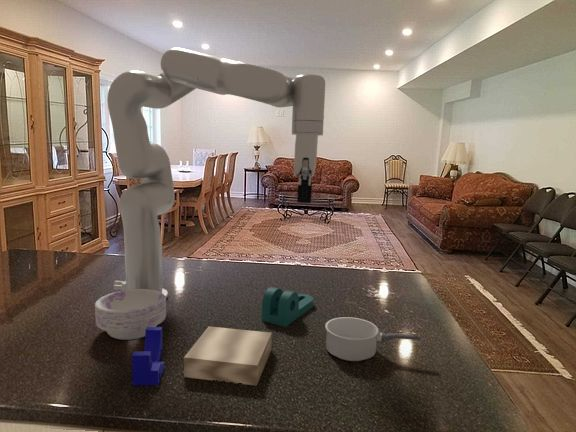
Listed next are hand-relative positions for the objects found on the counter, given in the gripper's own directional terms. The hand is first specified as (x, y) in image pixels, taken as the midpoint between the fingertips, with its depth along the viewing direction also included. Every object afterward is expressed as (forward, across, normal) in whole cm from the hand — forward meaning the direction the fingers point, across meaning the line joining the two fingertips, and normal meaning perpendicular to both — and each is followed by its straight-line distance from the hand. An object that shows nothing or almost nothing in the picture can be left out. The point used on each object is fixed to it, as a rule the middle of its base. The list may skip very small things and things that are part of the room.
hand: (304, 199), depth 108 cm
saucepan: (+31, +19, +16) cm, 39 cm away
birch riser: (+30, +26, -13) cm, 42 cm away
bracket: (+31, -2, -2) cm, 31 cm away
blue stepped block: (+31, +30, -28) cm, 51 cm away
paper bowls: (+30, +15, -38) cm, 51 cm away
